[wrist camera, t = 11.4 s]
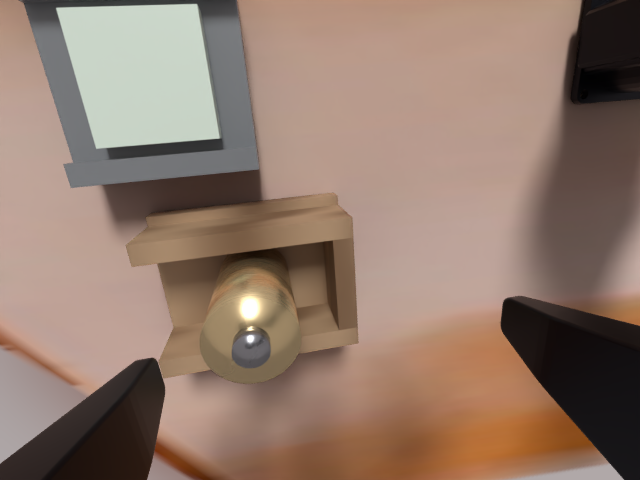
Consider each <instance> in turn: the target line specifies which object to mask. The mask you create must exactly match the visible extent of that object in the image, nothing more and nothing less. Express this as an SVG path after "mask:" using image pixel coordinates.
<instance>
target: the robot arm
mask: <svg viewBox="0 0 640 480" xmlns="http://www.w3.org/2000/svg"><path fill="white" fill-rule="evenodd" d="M581 92H582V96H581ZM633 99H640V0H585V6H584V13H583V19H582V26H581V33H580V39H579V46H578V52H577V59H576V66H575V72H574V79H573V86H572V92H571V100H572V102H573V103H574V104H584V103H596V102H608V101H621V100H633ZM501 329H502V332H503V334H504V335H505V337H506V338H507V339H508V341H509V342H510V344H511V345H512V346H513V348H514V349H515V350H516V352H517V353H518V354H519V356H520V357H521V359H522V360H523V361H524V363H525V364H526V365H527V367H528V368H529V370H530V371H531V372H532V374H533V375H534V376H535V378H536V379H537V380H538V381H539V383H540V384H541V385H542V386H543V387H544V389H545V390H546V391H547V392H548V393H549V394H550V396H551V397H552V398H553V399H554V400H555V401H556V402H557V404H558V405H559V406H560V407H561V408H562V409H563V410H564V412H565V413H566V414H567V415H568V416H569V417H570V418H571V420H572V421H573V422H574V423H575V424H576V425H577V426H578V428H579V429H580V430H581V431H582V432H583V433H584V434H585V436H586V437H587V438H588V439H589V440H590V441H591V442H592V444H593V445H594V446H595V447H596V448H597V449H598V450H599V452H600V453H601V454H602V455H603V456H604V457H605V458H606V460H607V461H608V462H609V463H610V464H611V465H612V466H613V468H614V469H615V470H616V471H617V472H618V473H619V474H620V476H622V478H623V479H624V480H640V326H638V325H634V324H630V323H626V322H622V321H618V320H614V319H610V318H606V317H602V316H599V315H595V314H591V313H587V312H583V311H579V310H575V309H571V308H567V307H563V306H559V305H555V304H551V303H547V302H543V301H540V300H536V299H532V298H528V297H524V296H515V297H509V298H506V299H505V300H504V302H503V306H502V316H501ZM164 397H165V385H164V382H163V378H162V375H161V372H160V368H159V365H158V362H157V360H156V359H154V358H147V359H141V360H137V361H135V362H133V363H132V364H131V365H129V366H128V367H127V368H125V369H124V370H123V371H121V372H120V373H119V374H118V375H116V376H115V377H114V378H112V379H111V380H110V381H108V382H107V383H106V384H104V385H103V386H102V387H100V388H99V389H98V390H96V391H95V392H94V393H93V394H91V395H90V396H89V397H87V398H86V399H85V400H83V401H82V402H81V403H79V404H78V405H77V406H76V407H74V408H73V409H72V410H70V411H69V412H68V413H66V414H65V415H64V416H62V417H61V418H60V419H58V420H57V421H56V422H54V423H53V424H52V425H50V426H49V427H48V428H47V429H45V430H44V431H43V432H41V433H40V434H39V435H37V436H36V437H35V438H33V439H32V440H31V441H30V442H28V443H27V444H26V445H24V446H23V447H22V448H20V449H19V450H18V451H16V452H15V453H14V454H12V455H11V456H10V457H9V458H7V459H6V460H5V461H3V462H2V463H1V464H0V480H147V478H148V474H149V471H150V467H151V463H152V459H153V455H154V450H155V445H156V439H157V434H158V429H159V424H160V418H161V413H162V408H163V403H164Z"/></svg>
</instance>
